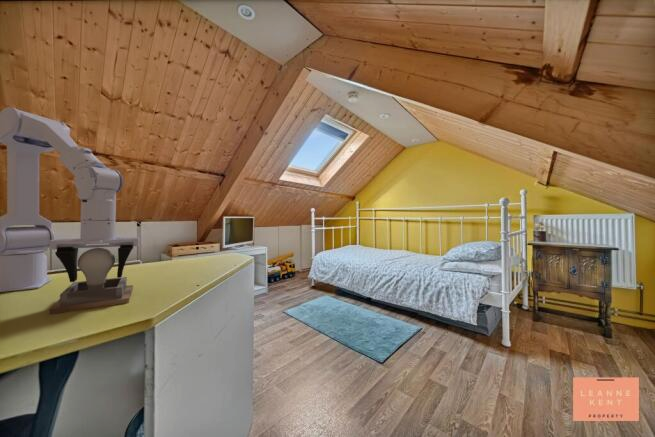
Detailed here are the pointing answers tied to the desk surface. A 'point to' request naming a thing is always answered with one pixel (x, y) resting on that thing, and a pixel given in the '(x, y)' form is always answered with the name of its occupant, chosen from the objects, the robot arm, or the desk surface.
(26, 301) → the desk surface
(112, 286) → the socket base
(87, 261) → the lightbulb
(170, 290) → the desk surface
